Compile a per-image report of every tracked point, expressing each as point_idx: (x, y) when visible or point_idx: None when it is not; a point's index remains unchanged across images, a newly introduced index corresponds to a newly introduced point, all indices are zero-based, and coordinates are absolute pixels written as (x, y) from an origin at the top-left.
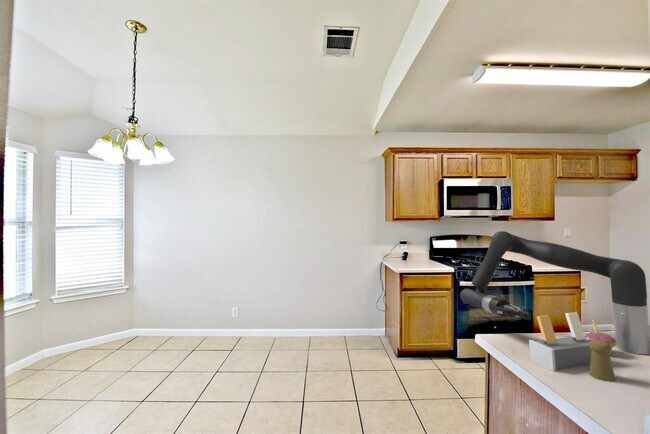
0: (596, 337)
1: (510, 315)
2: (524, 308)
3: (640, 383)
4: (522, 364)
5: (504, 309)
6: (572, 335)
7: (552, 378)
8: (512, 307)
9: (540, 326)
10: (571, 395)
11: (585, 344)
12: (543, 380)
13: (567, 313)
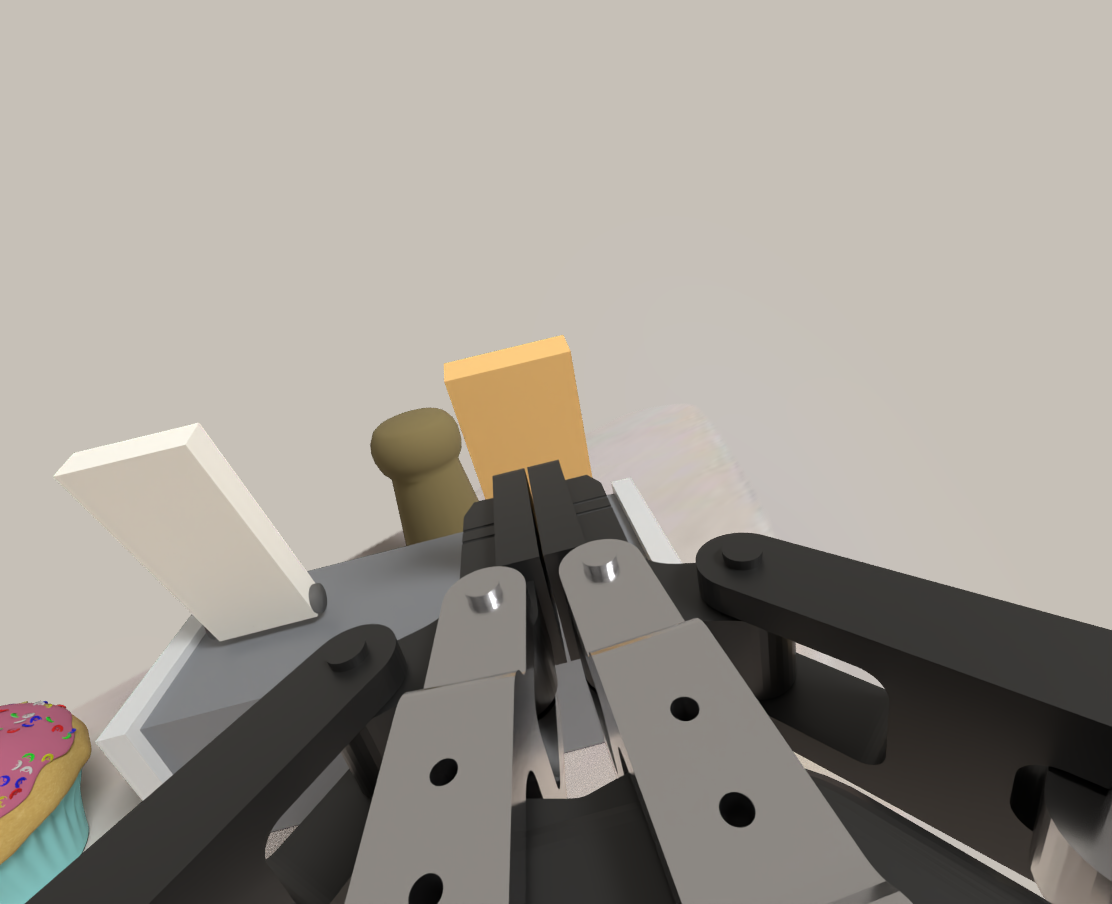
0: (18, 733)
1: (806, 665)
2: (226, 745)
3: (382, 546)
4: (811, 649)
5: (999, 647)
6: (303, 590)
7: (699, 535)
8: (622, 698)
9: (582, 431)
10: (697, 464)
11: (328, 576)
12: (752, 517)
13: (196, 428)
